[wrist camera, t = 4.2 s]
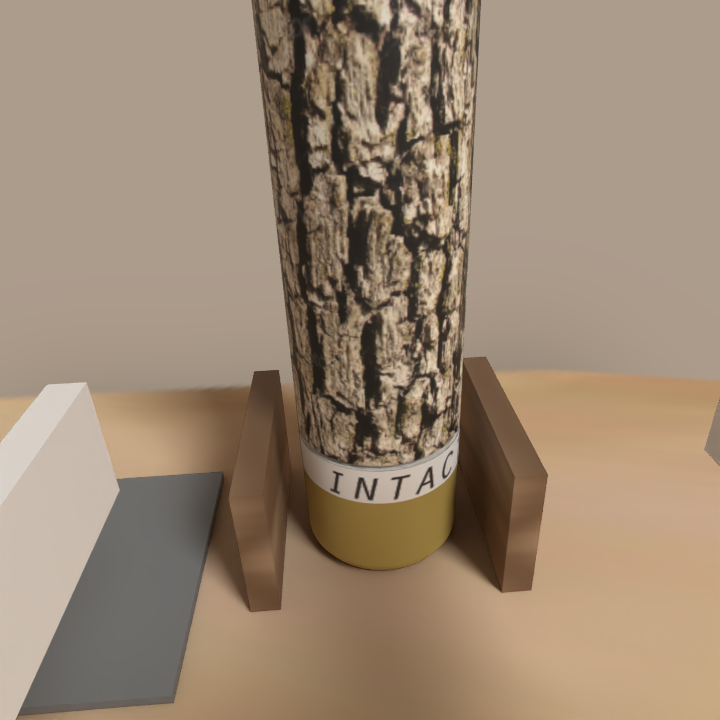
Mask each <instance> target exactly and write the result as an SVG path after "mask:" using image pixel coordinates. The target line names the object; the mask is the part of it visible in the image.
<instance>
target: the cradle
mask: <svg viewBox="0 0 720 720" xmlns="http://www.w3.org/2000/svg"><path fill="white" fill-rule="evenodd" d="M458 460H459V463H460V466H461V469H462V472H463V475H464V478H465V481H466V484H467V487H468V490H469V493H470V496H471V499H472V503H473V506H474V509H475V512H476V515H477V518H478V521H479V524H480V527H481V530H482V533H483V536H484V539H485V542H486V545H487V548H488V551H489V554H490V557H491V560H492V563H493V566H494V569H495V572H496V575H497V578H498V581H499V584H500V587H501V590H502V592H513V591H526V590H531V588H532V581H533V574H534V567H535V561H536V554H537V547H538V540H539V533H540V526H541V519H542V512H543V505H544V498H545V491H546V484H547V477H548V474H547V472H546V470H545V468H544V466H543V465H542V463H541V461H540V459H539V457H538V455H537V453H536V451H535V449H534V447H533V446H532V444H531V442H530V440H529V438H528V436H527V434H526V432H525V430H524V428H523V426H522V425H521V423H520V421H519V419H518V417H517V415H516V413H515V411H514V409H513V407H512V406H511V404H510V402H509V400H508V398H507V396H506V394H505V392H504V390H503V388H502V387H501V385H500V383H499V381H498V379H497V377H496V375H495V373H494V371H493V369H492V368H491V366H490V364H489V362H488V360H487V358H486V357H474V358H463V371H462V391H461V411H460V432H459V452H458ZM290 471H291V464H290V456H289V448H288V440H287V432H286V424H285V416H284V408H283V399H282V391H281V383H280V376H279V370H271V371H256V372H254V375H253V380H252V385H251V390H250V395H249V400H248V404H247V409H246V414H245V419H244V424H243V429H242V434H241V439H240V444H239V449H238V453H237V458H236V463H235V468H234V473H233V478H232V483H231V488H230V493H229V502H230V507H231V513H232V518H233V523H234V528H235V533H236V538H237V544H238V549H239V554H240V559H241V564H242V569H243V575H244V580H245V585H246V590H247V595H248V600H249V606H250V611H251V612H253V611H266V610H279V609H281V597H282V583H283V569H284V555H285V541H286V527H287V513H288V499H289V485H290Z"/></svg>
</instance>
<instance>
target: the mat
mask: <svg viewBox="0 0 720 720" xmlns="http://www.w3.org/2000/svg"><path fill="white" fill-rule="evenodd" d="M116 480H117V483H118V486H119V489H120V490H119V493H118V495H117V497H116V499H115V501H114V504H113V506H112V508H111V510H110V512H109V515H108V517H107V519H106V521H105V523H104V526H103V528H102V530H101V532H100V534H99V537H98V539H97V541H96V543H95V545H94V548H93V550H92V552H91V554H90V557H89V559H88V561H87V563H86V565H85V568H84V570H83V572H82V574H81V576H80V579H79V581H78V583H77V585H76V587H75V590H74V592H73V594H72V596H71V598H70V601H69V603H68V605H67V607H66V609H65V612H64V614H63V616H62V618H61V620H60V623H59V625H58V627H57V629H56V631H55V634H54V636H53V638H52V640H51V642H50V645H49V647H48V649H47V651H46V653H45V656H44V658H43V660H42V662H41V664H40V667H39V669H38V671H37V673H36V676H35V678H34V680H33V682H32V684H31V687H30V689H29V691H28V693H27V695H26V698H25V700H24V702H23V704H22V706H21V709H20V711H19V713H18V715H29V714H41V713H53V712H66V711H78V710H90V709H102V708H115V707H127V706H139V705H152V704H164V703H174V699H175V694H176V690H177V685H178V681H179V676H180V672H181V668H182V663H183V659H184V654H185V650H186V645H187V641H188V636H189V632H190V627H191V623H192V618H193V614H194V609H195V605H196V601H197V596H198V592H199V587H200V583H201V578H202V574H203V569H204V565H205V560H206V556H207V551H208V547H209V542H210V538H211V534H212V529H213V525H214V520H215V516H216V511H217V507H218V502H219V498H220V493H221V489H222V484H223V480H224V475H223V472H211V473H197V474H182V475H168V476H153V477H139V478H124V479H116Z"/></svg>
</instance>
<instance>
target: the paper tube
mask: <svg viewBox="0 0 720 720" xmlns="http://www.w3.org/2000/svg"><path fill="white" fill-rule="evenodd" d="M480 7H481V0H252V8H253V18H254V27H255V36H256V45H257V54H258V63H259V72H260V81H261V91H262V99H263V109H264V118H265V127H266V136H267V144H268V154H269V163H270V172H271V181H272V189H273V199H274V208H275V217H276V226H277V236H278V244H279V253H280V263H281V271H282V281H283V289H284V299H285V308H286V317H287V326H288V334H289V344H290V353H291V362H292V371H293V380H294V389H295V399H296V408H297V417H298V425H299V435H300V444H301V453H302V461H303V466H304V475H305V484H306V493H307V502H308V511H309V520H310V524H311V528H312V531H313V533H314V535H315V537H316V539H317V540H318V542H319V543H320V544H321V545H322V546H323V547H324V548H325V549H326V550H327V551H328V552H330V553H331V554H332V555H334V556H335V557H336V558H338V559H340V560H341V561H343V562H346V563H348V564H350V565H353V566H356V567H360V568H365V569H371V570H392V569H399V568H403V567H407V566H410V565H413V564H416V563H418V562H420V561H422V560H424V559H425V558H427V557H428V556H430V555H431V554H432V553H434V552H435V551H436V550H437V549H438V548H439V547H440V546H441V545H442V544H443V543H444V542H445V541H446V539H447V538H448V536H449V534H450V532H451V530H452V527H453V523H454V517H455V501H456V480H457V461H458V452H459V432H460V411H461V391H462V371H463V350H464V329H465V311H466V310H465V309H466V291H467V290H466V289H467V269H468V250H469V249H468V248H469V230H470V210H471V189H472V170H473V148H474V129H475V108H476V87H477V67H478V48H479V29H480V9H481V8H480Z"/></svg>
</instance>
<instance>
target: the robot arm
mask: <svg viewBox="0 0 720 720" xmlns="http://www.w3.org/2000/svg"><path fill="white" fill-rule="evenodd" d="M704 450H705V451H706V452H707V453H708V454H709V455H710V456H711V457H712V458H713V459H714V461H715V462H716V463H717V464H718V465H719V466H720V399H719V402H718V405H717V409H716V412H715V416H714V419H713V422H712V426H711V429H710V432H709V436H708V439H707V442H706V446H705V449H704ZM119 490H120V489H119V486H118V483H117V480H116V476H115V473H114V470H113V467H112V463H111V460H110V457H109V454H108V450H107V447H106V444H105V441H104V437H103V434H102V431H101V428H100V424H99V421H98V418H97V415H96V411H95V408H94V405H93V402H92V398H91V395H90V392H89V389H88V386H87V383H86V382H84V383H67V384H51V385H47V386H46V387H45V388H44V389H43V391H42V392H41V393H40V394H39V396H38V397H37V398H36V399H35V401H34V402H33V403H32V404H31V405H30V407H29V408H28V409H27V410H26V412H25V413H24V414H23V415H22V417H21V418H20V419H19V420H18V422H17V423H16V424H15V425H14V427H13V428H12V429H11V430H10V432H9V433H8V434H7V435H6V437H5V438H4V439H3V440H2V441H1V443H0V720H16V717H17V715H18V713H19V711H20V709H21V706H22V704H23V702H24V700H25V698H26V695H27V693H28V691H29V689H30V687H31V684H32V682H33V680H34V678H35V676H36V673H37V671H38V669H39V667H40V664H41V662H42V660H43V658H44V656H45V653H46V651H47V649H48V647H49V645H50V642H51V640H52V638H53V636H54V634H55V631H56V629H57V627H58V625H59V623H60V620H61V618H62V616H63V614H64V612H65V609H66V607H67V605H68V603H69V601H70V598H71V596H72V594H73V592H74V590H75V587H76V585H77V583H78V581H79V579H80V576H81V574H82V572H83V570H84V568H85V565H86V563H87V561H88V559H89V557H90V554H91V552H92V550H93V548H94V545H95V543H96V541H97V539H98V537H99V534H100V532H101V530H102V528H103V526H104V523H105V521H106V519H107V517H108V515H109V512H110V510H111V508H112V506H113V504H114V501H115V499H116V497H117V495H118V493H119Z"/></svg>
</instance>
